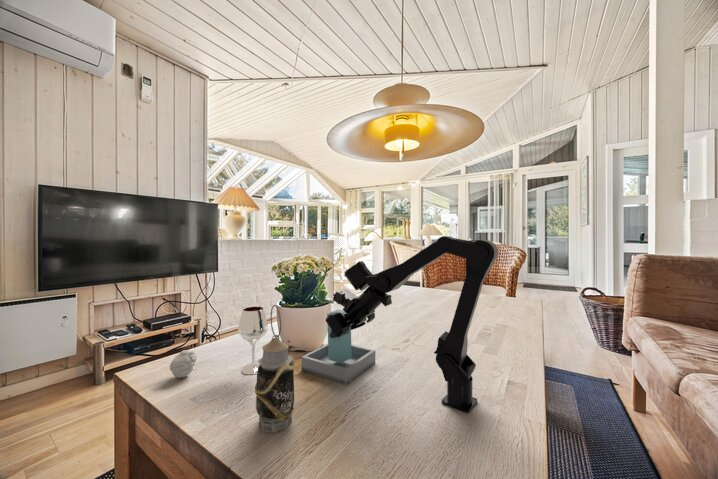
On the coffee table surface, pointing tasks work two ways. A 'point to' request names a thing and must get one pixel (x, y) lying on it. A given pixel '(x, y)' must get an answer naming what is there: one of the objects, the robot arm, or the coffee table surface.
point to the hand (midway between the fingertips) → (336, 334)
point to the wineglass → (252, 332)
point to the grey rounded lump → (183, 363)
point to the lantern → (275, 385)
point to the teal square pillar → (339, 344)
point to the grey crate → (338, 364)
